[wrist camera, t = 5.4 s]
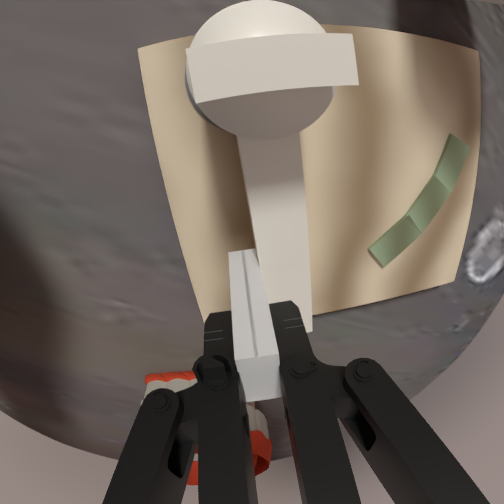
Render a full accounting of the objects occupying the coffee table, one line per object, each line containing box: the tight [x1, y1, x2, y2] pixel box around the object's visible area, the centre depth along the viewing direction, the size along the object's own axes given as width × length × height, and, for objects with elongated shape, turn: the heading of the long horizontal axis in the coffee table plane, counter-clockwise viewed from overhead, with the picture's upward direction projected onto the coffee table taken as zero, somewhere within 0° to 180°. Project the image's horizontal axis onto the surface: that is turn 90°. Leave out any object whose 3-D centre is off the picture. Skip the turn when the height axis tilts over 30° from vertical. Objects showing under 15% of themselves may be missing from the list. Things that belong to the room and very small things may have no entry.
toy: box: [141, 371, 272, 485], centre depth 24 cm, size 12×10×8 cm
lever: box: [185, 0, 359, 333], centre depth 12 cm, size 17×5×7 cm, turn 9°
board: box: [138, 25, 481, 324], centre depth 16 cm, size 20×18×2 cm
